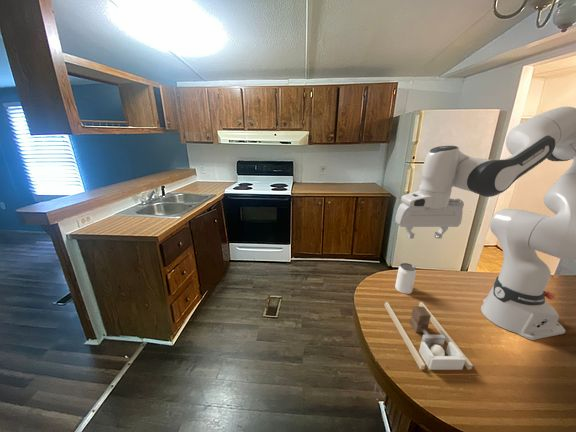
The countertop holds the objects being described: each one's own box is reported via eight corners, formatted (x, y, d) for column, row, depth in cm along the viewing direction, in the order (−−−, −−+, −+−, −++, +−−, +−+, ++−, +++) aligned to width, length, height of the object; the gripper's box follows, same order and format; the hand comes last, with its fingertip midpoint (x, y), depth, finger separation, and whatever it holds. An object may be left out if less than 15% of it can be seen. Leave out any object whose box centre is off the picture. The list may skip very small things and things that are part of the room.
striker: (423, 322, 79) (427, 306, 76) (442, 349, 69) (447, 331, 67) (406, 323, 79) (409, 306, 76) (422, 349, 69) (427, 331, 67)
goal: (448, 352, 68) (452, 341, 67) (462, 369, 63) (465, 359, 62) (418, 352, 68) (421, 342, 67) (429, 370, 63) (432, 359, 62)
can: (413, 297, 93) (419, 272, 89) (396, 295, 94) (401, 270, 90) (409, 287, 99) (414, 263, 95) (393, 285, 100) (397, 261, 96)
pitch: (420, 308, 87) (422, 301, 86) (469, 373, 64) (472, 365, 62) (383, 308, 87) (385, 302, 86) (419, 373, 63) (421, 365, 62)
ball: (445, 344, 66) (449, 358, 64) (438, 344, 69) (441, 357, 67) (433, 344, 66) (436, 358, 64) (426, 344, 69) (429, 357, 67)
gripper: (458, 196, 76) (448, 234, 81) (396, 196, 76) (390, 234, 81) (472, 201, 70) (460, 241, 75) (406, 201, 70) (398, 241, 75)
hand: (423, 237), depth 78 cm, fingers open, 8 cm apart
